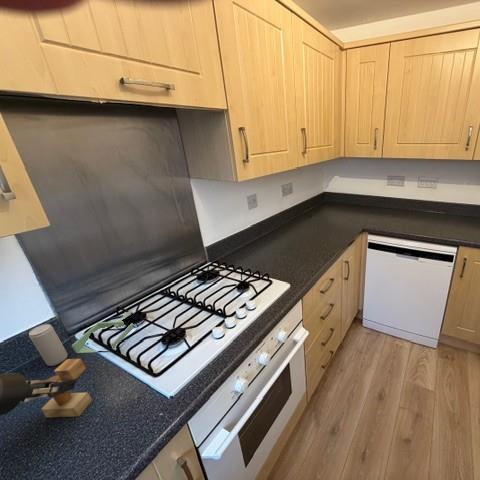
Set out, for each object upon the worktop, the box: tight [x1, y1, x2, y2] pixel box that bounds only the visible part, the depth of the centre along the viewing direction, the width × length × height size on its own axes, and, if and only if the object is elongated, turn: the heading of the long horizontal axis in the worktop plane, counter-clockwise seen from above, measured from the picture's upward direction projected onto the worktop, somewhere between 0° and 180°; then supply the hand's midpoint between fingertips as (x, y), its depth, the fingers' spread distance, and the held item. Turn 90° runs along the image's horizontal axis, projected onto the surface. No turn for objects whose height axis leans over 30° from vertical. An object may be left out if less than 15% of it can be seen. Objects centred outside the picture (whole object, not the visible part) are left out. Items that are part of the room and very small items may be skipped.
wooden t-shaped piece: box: [40, 375, 93, 418], centre depth 62 cm, size 8×4×10 cm, turn 90°
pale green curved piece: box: [71, 310, 134, 354], centre depth 88 cm, size 18×13×3 cm
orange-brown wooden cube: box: [53, 358, 87, 381], centre depth 73 cm, size 4×4×4 cm
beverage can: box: [28, 323, 69, 367], centre depth 76 cm, size 5×5×12 cm
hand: (67, 384), depth 64 cm, fingers closed on wooden t-shaped piece, 2 cm apart
